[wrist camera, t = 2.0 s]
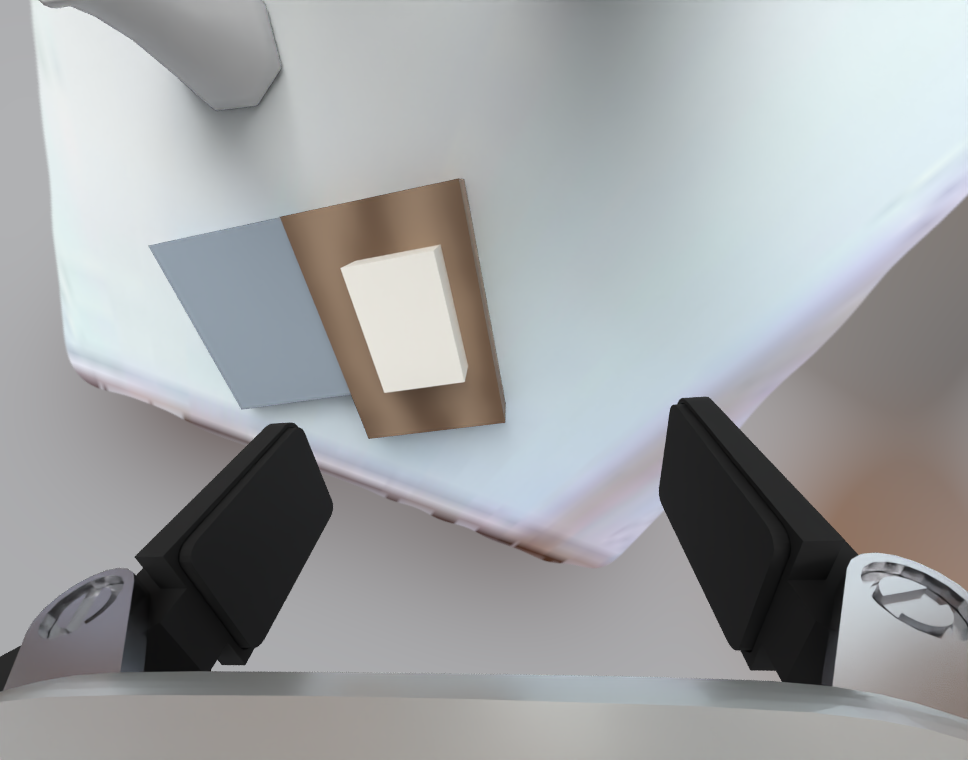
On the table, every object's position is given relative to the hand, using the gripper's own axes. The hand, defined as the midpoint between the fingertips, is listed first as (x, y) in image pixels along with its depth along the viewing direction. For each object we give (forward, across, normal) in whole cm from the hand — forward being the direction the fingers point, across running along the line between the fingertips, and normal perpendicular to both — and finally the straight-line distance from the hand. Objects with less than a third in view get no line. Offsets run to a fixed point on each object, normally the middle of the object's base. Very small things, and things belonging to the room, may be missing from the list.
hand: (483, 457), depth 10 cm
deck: (+21, +7, +2) cm, 22 cm away
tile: (+18, +6, +1) cm, 19 cm away
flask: (+21, +16, -16) cm, 31 cm away
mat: (+21, +19, +1) cm, 28 cm away
